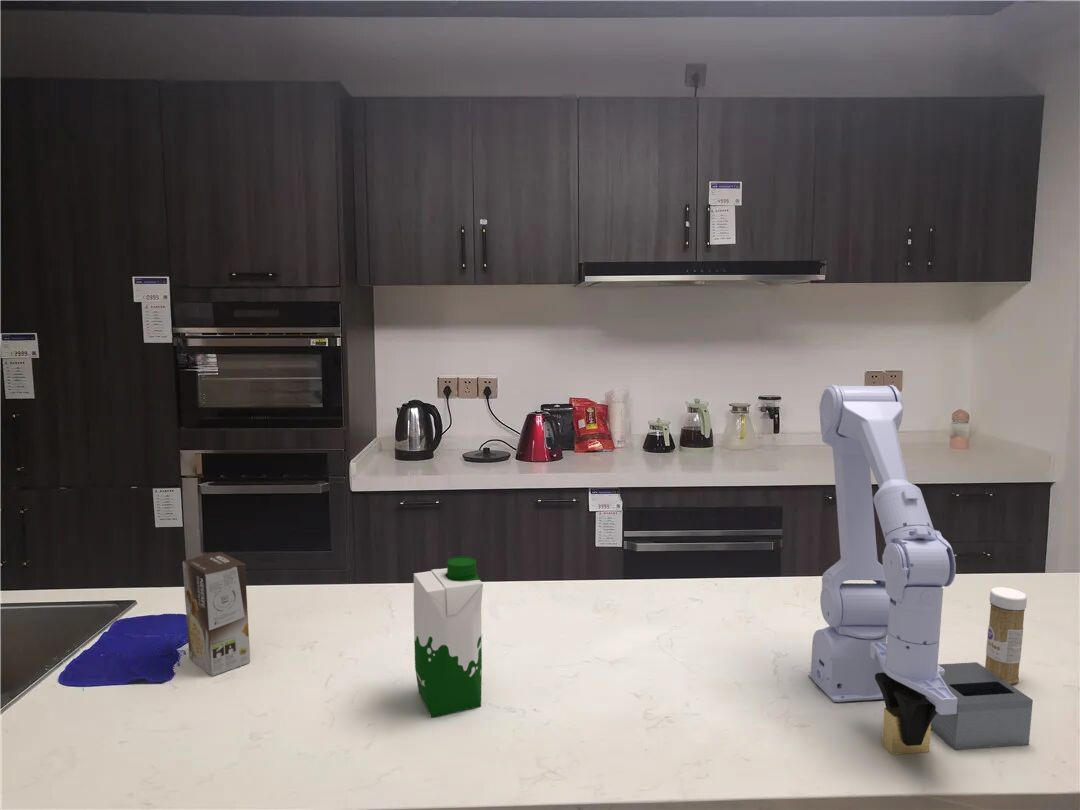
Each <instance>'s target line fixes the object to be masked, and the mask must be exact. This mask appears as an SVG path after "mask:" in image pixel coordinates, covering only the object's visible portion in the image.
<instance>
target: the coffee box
mask: <svg viewBox="0 0 1080 810" xmlns="http://www.w3.org/2000/svg"><path fill="white" fill-rule="evenodd" d="M182 572H183V573H182V575H183V587H184V590H183V591H184V600H185V601H184V602H185V612H186V613H185V615H186V626H187V627H186V628H187V629H186V630H187V643H188V645H187V646H188V658H189V660H191V661H192V662H194V664H196V665H198V667H200V668H201V669H202V670H203V671H205V672H206V673H207V674H208V675H210V676H211V677H214V676H217V675H220V674H223V673H225V672H227V671H231V670H233V669H236V668H239V667H242V666H246V665H247V664H250V662H251V652H250V651H251V650H250V647H251V646H250V633H249V615H248V614H249V613H248V611H249V610H248V597H247V596H248V595H247V577H246V576H247V575H246V563H244V562H242V561H240V560H238V559H236V558H234V557H232V556H230V555H228V554H226V553H224V552H222V551H216V552H213V553H208V554H203V555H200V556H196V557H194V558H189V559H185V560H183V561H182Z"/></svg>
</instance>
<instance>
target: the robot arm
mask: <svg viewBox="0 0 1080 810" xmlns="http://www.w3.org/2000/svg"><path fill="white" fill-rule="evenodd" d="M818 409H819V422H820V433H821V436H822V438H821V440H822V442H823V444H825V445H828V446H829V447H831V448H832V449H831V450H832V457H833V467H834V468H833V469H834V480H835V481H834V483H835V495H836V510H837V523H838V525H837V526H838V537H839V539H838V540H839V551H840V554H839V555H840V558H839V560H838V561H837V562H835V563H834V564H833V565H832V566H830V567H828V569H827V570H825V572H823V573H822V576H821V591H820V598H819V599H820V611H821V614H822V617H823V619H824V621H825V622H826V623H827V625H828V626H827V627H824V628H821V629H817V630H816V631H814V634H813V637H812V644H811V645H812V647H811V662H810V663H811V664H810V665H811V667H810V671H808V673H807V674H808V677H810V678H811V679H812V681H813V683H815V684H816V685H818V687H819V688H820V689H821V690H822V691H823V692H824V693H825V694H826V695H827V696H828V697H829V698H830V699H831V701H833V702H835V703H836V702H837V703H841V702H842V703H843V702H853V701H854V702H857V701H873V700H883V702H884V704H885V708H891V707H899V709H900V714H901V731H902V739H903V743H904V744H905V745H906V746H914V745H921V744H922V742H923V739H924V737H925V734H926V732H927V729H928V727H929V725H930V723H931V721H932V719H933V718H934V716H935V715H936V714H937V713H939V714H940V715H945V714H946V715H948V714H956V713H957V701H958V698H956V697H955V696H954V695H953V694H952V693H951V692H950V690H949V689H948V687H947V685H946V684H945V682H944V681H943V679H942V677H941V676H943V675H944V673H945V670H944V669H943V668H942V667H941V666H939V665H938V664H939V649H940V639H941V625H942V624H941V622H942V609H943V595H944V588H943V587H950V586H951V585H952V583H953V582H954V580H955V577H956V573H957V572H956V571H957V570H956V569H957V568H956V567H957V565H956V558H955V555H954V550H953V548H952V546H951V544H950V543H949V542H948V540H946V539H945V538H944V537H943V536H942V532H940V530H936V529H935V528H934V526H933V522H932V520H931V516H930V514H929V510H928V508H927V505H926V502H925V499H924V496H923V493H922V490H921V489H920V487H918V486H917V485H915V484H913V483H911V482H909V480H908V476H907V469H906V466H905V461H904V458H903V457H904V456H903V453H902V449H901V443H900V439H899V433H898V430H899V429H900V427H901V425H902V419H903V414H904V401H903V396H902V394H901V392H900V390H899V389H898V388H897V387H896V386H895V385H894V384H886V385H836V384H829V385H828V386H826V388H825V389H824V391H823V392H822V394H821V398H820V401H819V408H818ZM871 471H872V474H873V476H874V478H875V482H876V484H877V486H878V490H877V491H876V492H875V494H874V496H873V488H872V474H871ZM874 507H875V509H874ZM875 510H876V514H877V518H878V521H879V524H880V527H881V531H882V535H883V538H884V541H885V544H886V546H885V547H884V550H883V553H882V559H881V560H882V563H880V562H879V561H878V551H877V550H878V549H877V539H876V538H877V536H876V523H875V512H874V511H875ZM848 581H873V583H861V582H860V583H859V582H858V583H857V582H856V583H854V582H853V583H850V582H849V583H848ZM845 582H847V583H845Z"/></svg>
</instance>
